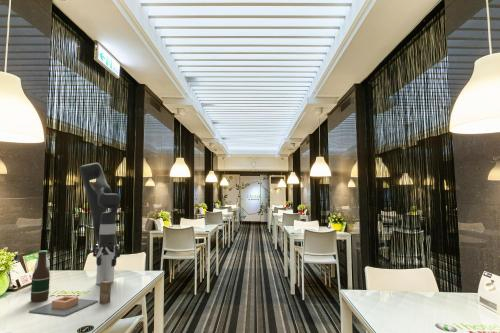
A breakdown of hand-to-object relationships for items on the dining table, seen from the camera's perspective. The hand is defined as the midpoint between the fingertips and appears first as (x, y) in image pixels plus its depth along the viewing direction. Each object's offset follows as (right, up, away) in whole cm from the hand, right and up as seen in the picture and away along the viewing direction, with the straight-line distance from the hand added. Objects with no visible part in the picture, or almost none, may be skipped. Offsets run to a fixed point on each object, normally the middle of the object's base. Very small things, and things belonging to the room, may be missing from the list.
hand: (106, 265), depth 155 cm
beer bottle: (-35, -18, +2) cm, 40 cm away
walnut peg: (0, -18, -2) cm, 18 cm away
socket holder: (-16, -17, -8) cm, 25 cm away
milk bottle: (-53, -21, +30) cm, 64 cm away
